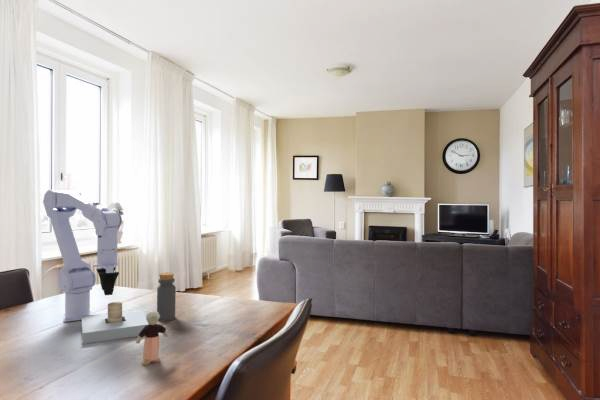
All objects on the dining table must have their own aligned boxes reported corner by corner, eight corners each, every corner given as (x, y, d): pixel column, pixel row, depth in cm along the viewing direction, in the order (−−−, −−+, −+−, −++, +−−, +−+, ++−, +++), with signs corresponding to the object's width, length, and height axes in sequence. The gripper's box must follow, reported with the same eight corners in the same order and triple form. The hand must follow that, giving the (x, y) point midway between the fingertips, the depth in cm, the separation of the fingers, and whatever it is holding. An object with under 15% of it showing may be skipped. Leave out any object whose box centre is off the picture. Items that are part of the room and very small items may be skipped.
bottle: (169, 321, 133) (170, 275, 133) (153, 320, 134) (153, 274, 134) (178, 316, 139) (178, 272, 139) (162, 315, 140) (163, 271, 140)
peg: (107, 328, 125) (107, 302, 125) (121, 327, 127) (121, 301, 127) (107, 332, 121) (108, 306, 121) (122, 330, 123) (122, 304, 123)
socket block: (81, 325, 128) (81, 316, 128) (142, 318, 136) (142, 309, 136) (82, 344, 112) (82, 333, 112) (151, 334, 121) (151, 323, 121)
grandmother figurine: (141, 368, 97) (142, 315, 97) (133, 363, 99) (134, 312, 99) (170, 358, 103) (171, 308, 103) (162, 354, 105) (163, 305, 105)
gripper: (91, 247, 132) (91, 289, 133) (95, 252, 120) (94, 298, 120) (115, 246, 136) (115, 286, 136) (121, 251, 124) (120, 296, 124)
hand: (107, 292), depth 128 cm, fingers open, 7 cm apart
